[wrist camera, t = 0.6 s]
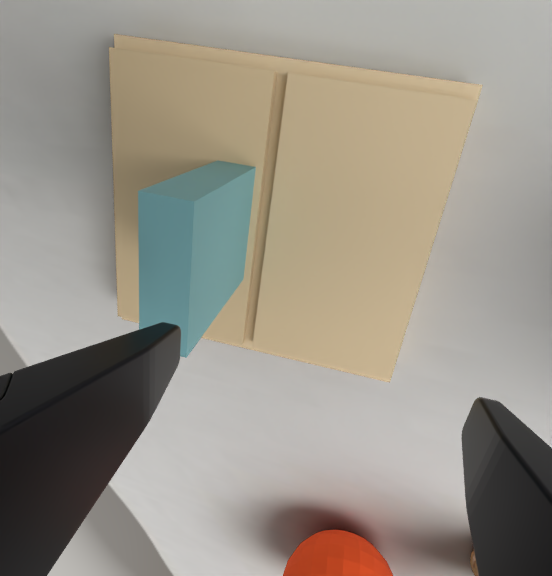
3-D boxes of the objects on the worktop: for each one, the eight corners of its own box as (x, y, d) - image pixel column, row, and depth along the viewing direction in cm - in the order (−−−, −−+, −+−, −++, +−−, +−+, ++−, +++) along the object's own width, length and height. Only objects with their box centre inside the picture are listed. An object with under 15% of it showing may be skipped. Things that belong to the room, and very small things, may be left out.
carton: (472, 86, 16) (486, 84, 14) (388, 363, 22) (390, 388, 20) (132, 38, 18) (104, 31, 16) (135, 305, 24) (115, 323, 22)
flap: (277, 71, 16) (214, 52, 10) (244, 339, 21) (190, 441, 15) (115, 48, 17) (-39, 16, 10) (123, 311, 22) (22, 396, 16)
